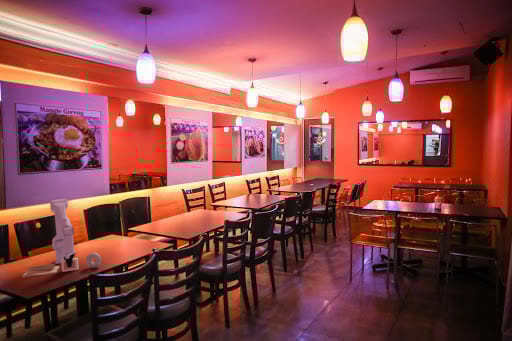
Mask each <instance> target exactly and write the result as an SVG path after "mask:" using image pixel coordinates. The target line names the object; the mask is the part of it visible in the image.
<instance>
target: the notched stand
mask: <svg viewBox="0 0 512 341" xmlns="http://www.w3.org/2000/svg"><path fill="white" fill-rule="evenodd" d="M59 268H60V265H56V264H55V263H51V264H45V265H44V264H43V265H37V266H29V267H28V269H27V270H26V271H25V272H24V273H23V275H22V276H21V279H25V278H31V277H38V276H46V275H53V274H56V273H57V272H58V271H59Z"/></svg>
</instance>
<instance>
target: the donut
mask: <svg viewBox="0 0 512 341" xmlns="http://www.w3.org/2000/svg"><path fill="white" fill-rule="evenodd" d="M101 257H102V256H101V255H100V254H98V253H97V252H90V253H89V254H87V256H86V257H85V258H86V259H85V260H86V261H85V262H86V265H87V266H88V268H91V269H96V268H98V267H99V266H100V265H101V263H102V258H101ZM92 259H94V260H95V262H93V260H92Z"/></svg>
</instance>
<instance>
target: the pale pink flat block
mask: <svg viewBox="0 0 512 341" xmlns="http://www.w3.org/2000/svg"><path fill="white" fill-rule="evenodd" d="M60 264H61V273H62V272H63V273H64V272H69V271H76V270H77V271H78V270H79V258H78V257H75V258H73V260H72V267H68V266H67V263H66V261H65V260H62V261H61V263H60Z"/></svg>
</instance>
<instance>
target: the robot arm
mask: <svg viewBox="0 0 512 341" xmlns="http://www.w3.org/2000/svg"><path fill="white" fill-rule="evenodd" d="M49 205H50V208H49V209H50V213H51V212H53V214H54V219H55V220H54V221H55V230H56V231H55V232H56V235H55V236H54V237H52V240H51V242H52V243H51V246H52V249H53V250H55V262H54V265H56V264H58V265H59V264H62V263H61V261H62V260H65V261H66V263H67V266H68V267H72V260H73V258H74V257H75V255H76V254H77V251H76V250H75V247H74V246H75V244H74V234H75V230H74V226H73V224H71V223H72V222H71V220H70V218H69V217H68V216H67V211H66V210H67V209H68V207H69V201H68V199H67V198H60V199H53V200H52V199H51V200H50V201H49Z"/></svg>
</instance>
